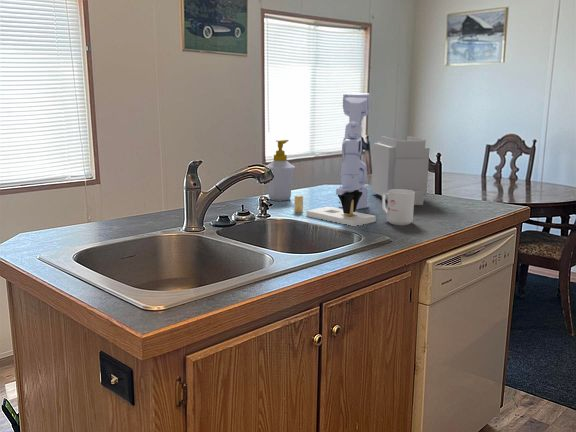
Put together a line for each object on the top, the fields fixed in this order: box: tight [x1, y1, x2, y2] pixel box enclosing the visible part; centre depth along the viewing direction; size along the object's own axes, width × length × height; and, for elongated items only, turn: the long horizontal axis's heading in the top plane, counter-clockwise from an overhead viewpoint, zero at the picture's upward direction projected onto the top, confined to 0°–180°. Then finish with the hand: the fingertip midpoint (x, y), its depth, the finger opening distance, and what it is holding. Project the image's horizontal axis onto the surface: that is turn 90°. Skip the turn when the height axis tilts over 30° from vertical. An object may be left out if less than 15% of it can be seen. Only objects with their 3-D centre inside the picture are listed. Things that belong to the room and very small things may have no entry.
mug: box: [381, 189, 415, 226], centre depth 192 cm, size 12×9×11 cm
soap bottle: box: [265, 139, 296, 202], centre depth 229 cm, size 13×13×25 cm
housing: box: [305, 206, 377, 227], centre depth 196 cm, size 12×22×2 cm, turn 44°
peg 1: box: [293, 195, 304, 214], centre depth 206 cm, size 3×3×6 cm
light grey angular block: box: [370, 135, 431, 206], centre depth 234 cm, size 17×27×26 cm, turn 9°
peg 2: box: [344, 200, 354, 217], centre depth 193 cm, size 3×3×6 cm
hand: (349, 212), depth 193 cm, fingers closed on peg 2, 3 cm apart
